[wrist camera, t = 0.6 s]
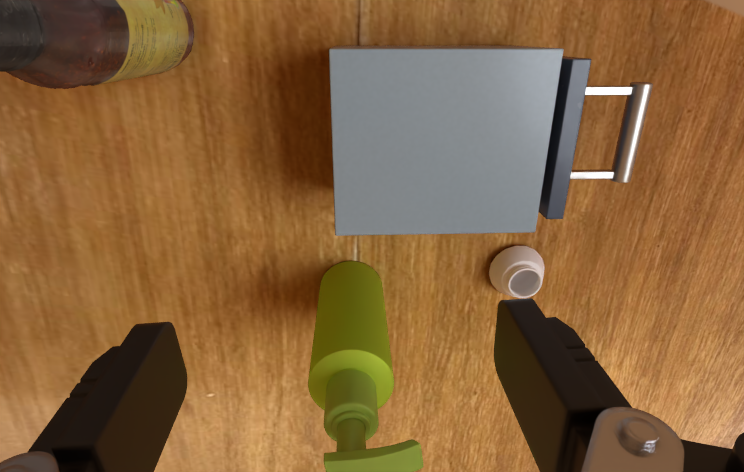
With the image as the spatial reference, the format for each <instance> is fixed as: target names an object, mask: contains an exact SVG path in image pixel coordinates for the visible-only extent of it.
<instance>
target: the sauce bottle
mask: <svg viewBox="0 0 744 472" xmlns="http://www.w3.org/2000/svg"><path fill="white" fill-rule="evenodd" d="M193 38H194V31H193V22H192V18H191V16H190V13H189V12H188V9H187V8H186V6H185V5H184V4H183V2H182V1H181V0H0V71H4V72H7V73H9V74H11V75H12V76H14V77H17V78H19V79H21V80H23V81H25V82H29V83H31V84H34V85H37V86H41V87H47V88H54V89H56V88H63V89H68V88H75V87H78V86H81V85H82V86H88V85H92V86H94V85H99V84H105V83H110V82H116V81H121V80H126V79H132V78H137V77H143V76H149V75H153V74H158V73H162V72H165V71H168V70H170V69H171V68H173V67H175V66H177V65H179V64H180V63H181V62H182V61H183V60H184V59H185V58H186V57H187V56H188V55H189V53H190V52H191V47H192V44H193Z"/></svg>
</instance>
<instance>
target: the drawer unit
mask: <svg viewBox="0 0 744 472" xmlns="http://www.w3.org/2000/svg"><path fill="white" fill-rule="evenodd" d="M562 56H563V49H561V48H544V47H527V46H334V47H332V48H330V49H329V68H330V97H331V125H332V154H333V183H334V211H335V235H397V234H460V233H522V232H535V230H536V223H537V217H538V211H539V204H540V198H541V191H542V185H543V178H544V172H545V166H546V159H547V153H548V146H549V140H550V133H551V127H552V120H553V114H554V108H555V101H556V95H557V88H558V82H559V75H560V69H561V62H562Z"/></svg>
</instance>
